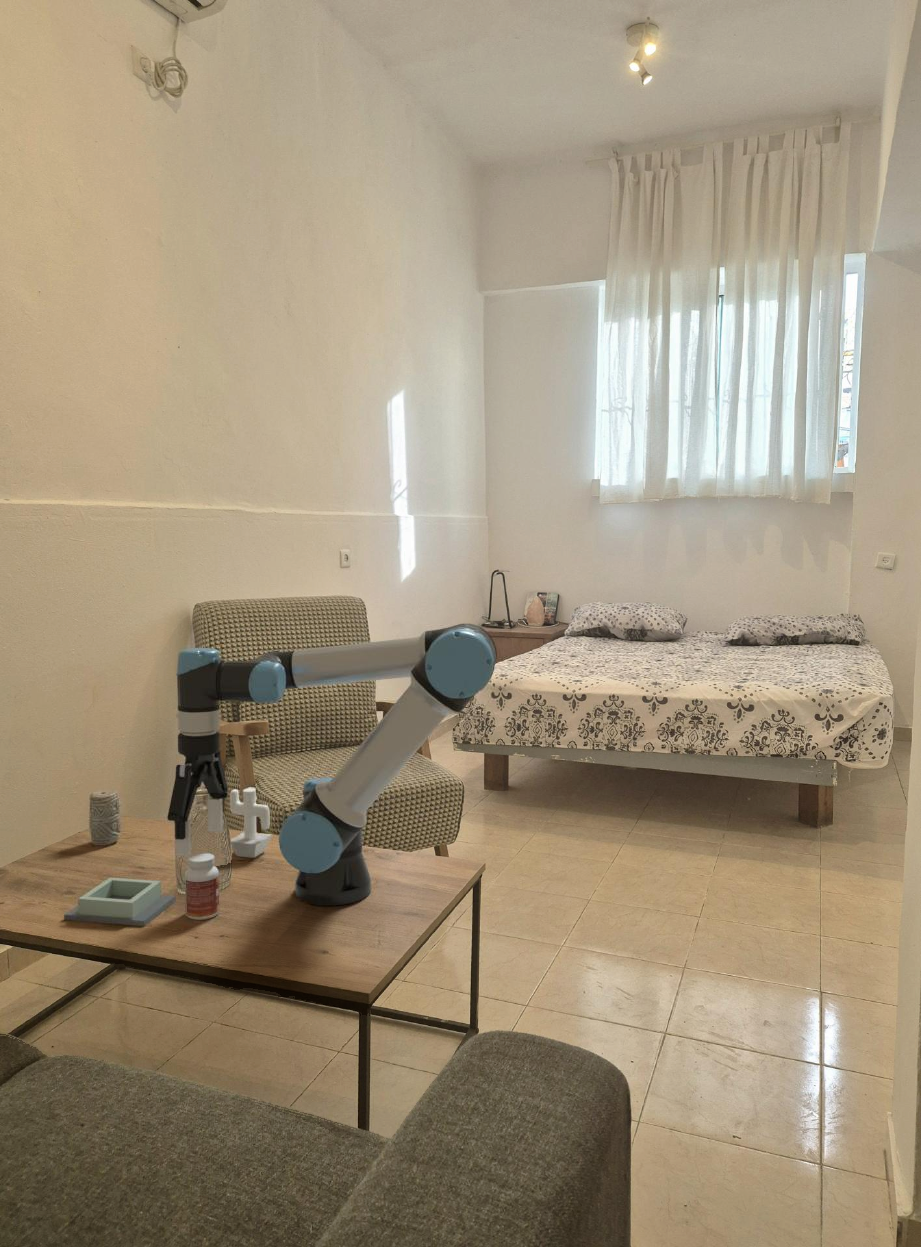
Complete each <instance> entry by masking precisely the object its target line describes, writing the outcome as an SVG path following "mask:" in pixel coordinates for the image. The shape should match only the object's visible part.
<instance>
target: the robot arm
mask: <svg viewBox="0 0 921 1247" xmlns="http://www.w3.org/2000/svg"><path fill="white" fill-rule="evenodd" d="M497 657H498V654H497V645H496V643H495V641H494V639H493V637H492V636H491V634H490V633H489V632H488V631H487V630H486V629H484V628H483V627H482V626H479V625H476V624H474V623H460V624H456V625H451V626H448V627H444V628H439V629H432V630H424V631H423V632H422V634H420V636H416V637H405V638H397V639H388V640H379V641H368V642H360V643H351V644H342V645H333V646H324V647H316V648H315V647H314V648H313V647H312V648H305V649H296V650H295V649H294V650H287V651H283V650H273V651H272V650H271V651H268V652H265V653H263V654H262V655H260V656H258V657H255V658H253V659H250V660H224V659H221V656H220V651H219V650H218V649H216V648H210V647H195V648H186V649H182V650H180V652H179V653H178V655H177V667H176V668H177V669H176V670H177V671H176V679H177V680H176V681H177V682H176V684H177V713H176V715H175V716H176V719H177V730H178V731H179V733H178V734H177V752H178V754H180V755H182V756H184V757H185V761H184V764H176V766H175V778H174V783H173V788H172V794H171V797H170V801H169V808H168V812H167V813H168V814H167V816H166V817H167V821H168V822H169V821H170V822H174V856H177V857H178V856H180V857H190V856H192V855H191V854H192V851H191V850H192V849H191V848H192V846H191V845H192V843H191V840H192V836H191V835H192V834H191V832H192V831H191V830H192V829H191V821H192V820H191V819H189V817H190V814H191V810H192V806H193V804H194V800H195V797H196V795H197V791H198V789H200V788H201V786H202V784H203V785H204V787H205V789H206V791H207V793H208V795H209V798H207V832H209V833H219V834H220V833H223V799H227V798H228V794H229V793H228V791H229V790H228V789H229V787H228V782H227V778H226V774H225V772H224V767H223V762H222V755H221V754H222V753H221V741H220V740H221V735H220V732H219V730H220V729H221V711H220V710H221V706H220V704H221V703H220V702H236V703H237V702H241V703H258V704H262V705H263V704H265V703H266V704H267V703H268V704H269V703H271V704H272V703H278V702H280V701H281V700H282V699H283V696H284V694H285V693H286V691H287V690H295V689H301V688H309V687H310V688H311V687H321V686H331V685H339V684H340V685H343V684H351V683H362V682H372V681H381V680H382V681H383V680H392V679H393V680H394V679H400V678H401V679H404V678H410V685H409V686H408V687H407V688H406V689H405V690H404V692H403V693H402V694H401V696H400V697H399V698H398V699H397V701H396V702H395V703H394V704H393V705H392V706H391V707H390V708H389V710H388V711H387V713H385V715H384V716H383V717H382V718H381V719H380V721H379V722H378V723H377V724H376V726H375V727H374V728H373V729H372V731H371V732H369V734H368V735H367V736H366V738H365V739H364V740H363V741H362V742H361V744H360V745H359V746H358V747H357V749H355V751H354V752H353V753H352V755H351V756H350V757H349V758H348V759H347V760H346V762H345V763H344V764H343V765H342V766H341V768H340V769H339V770H338V771H337V773H336V774H335V775H334V776H333V777H318V778H316V777H315V778H312V779H308V780H306V781H305V782H304V783H303V790H302V797H303V798H302V799H303V801H302V802H301V803H300V804H299V805H298V806H297V807H296V809H295V810H294V811H293V813H291V814H290V815H289V816H287V818H286V819H285V820H284V821H283V823H282V825H281V828H280V831H279V835H278V845H279V849H280V852H281V854H282V856H283V857H282V858H284V859H285V861H286V862H287V863H288V865H290V866H291V867H292V868H294V869H296V870H298V872H297V876H296V879H295V884H294V885H295V886H294V888H295V890H294V893H295V897H296V898H297V899H298V900H299V901H301V902H304V903H306V904H310V905H315V906H324V907H325V906H326V907H328V906H329V907H330V906H331V907H333V906H342V905H344V906H345V905H348V904H353V903H356V902H358V901H361V900H363V899H365V898H367V897H368V896H369V895H370V894H371V892H372V891H371V890H372V880H371V876H370V875H371V874H370V872H369V870H368V866H367V864H366V860H365V858H364V854H363V828H364V826H366V824H367V814H366V812H367V811H368V809H369V808H370V807H371V806H372V804H374V802H375V801H376V800H377V799H378V797H380V795H381V794H382V793H383V792H384V790H385V789H386V788H387V787H388V786H389V785H390V784H391V783H392V781H393V780H394V779H395V777H396V776H397V775H398V774H399V772H401V770H403V768H404V767H405V765H407V763H408V762H409V761H410V760H411V758H413V756H414V755H415V753H417V751H418V750H419V749H420V748H421V747H422V745H423V744H424V743H426V740H428V738H429V737H430V736H431V735H432V733H433V732H434V731H435V730H436V729H437V727H438V726H439V725H440V724H441V723H442V721H444V720H445V719H446V716H449V715H458V714H460V713H461V712H462V711H463V710H464V709H465V708H466V706H467V705H469V704H468V703H470V702H471V700H473V698H474V697H475V696H476V695H477V694H479V692H480V691H482V690H484V689H485V688H486V686H487V685H488V684H489V682H490V680H491V679H492V677H493V674H494V672H495V667H496V663H497Z"/></svg>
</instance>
